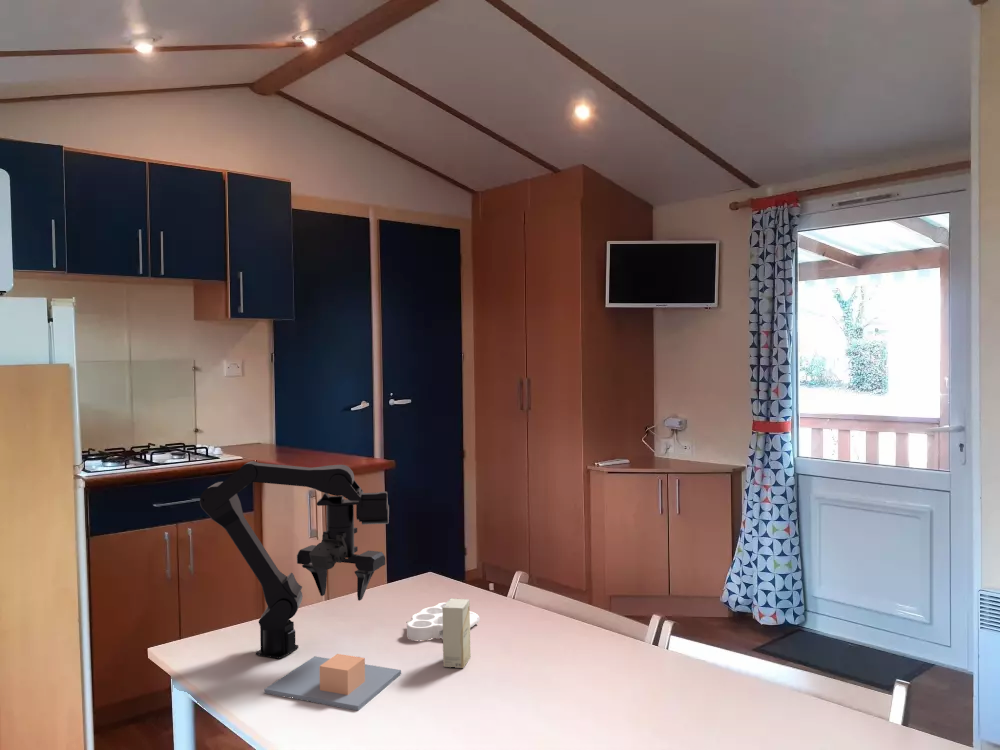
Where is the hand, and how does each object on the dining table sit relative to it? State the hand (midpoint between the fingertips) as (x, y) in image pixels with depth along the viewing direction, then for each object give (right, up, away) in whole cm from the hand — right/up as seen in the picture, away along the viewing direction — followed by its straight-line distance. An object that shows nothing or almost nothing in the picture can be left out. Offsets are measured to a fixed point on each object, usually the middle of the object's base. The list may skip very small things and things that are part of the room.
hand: (341, 597), depth 159 cm
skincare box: (+25, -11, -7) cm, 28 cm away
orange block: (+4, -11, -19) cm, 23 cm away
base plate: (+2, -11, -17) cm, 20 cm away
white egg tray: (+20, -11, +12) cm, 26 cm away
